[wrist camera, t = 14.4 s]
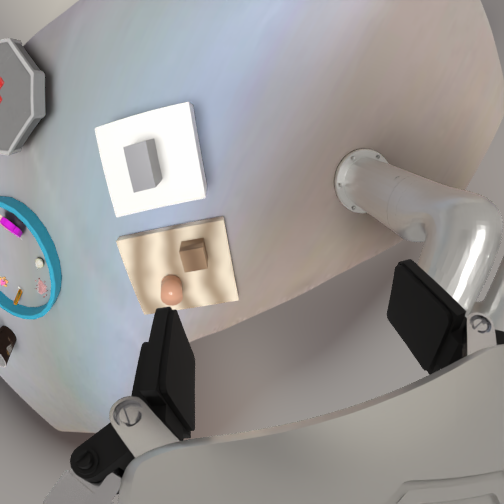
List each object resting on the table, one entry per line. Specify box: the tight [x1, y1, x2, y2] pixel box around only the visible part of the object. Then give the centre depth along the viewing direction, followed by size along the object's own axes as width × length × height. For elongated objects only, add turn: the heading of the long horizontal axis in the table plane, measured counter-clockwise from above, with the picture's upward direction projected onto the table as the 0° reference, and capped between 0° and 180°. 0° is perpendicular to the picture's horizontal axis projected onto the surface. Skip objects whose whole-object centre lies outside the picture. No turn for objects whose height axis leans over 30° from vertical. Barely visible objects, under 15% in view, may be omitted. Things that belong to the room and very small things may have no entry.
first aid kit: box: [0, 38, 46, 155], centre depth 27 cm, size 18×8×25 cm
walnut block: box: [179, 237, 208, 273], centre depth 47 cm, size 4×4×4 cm
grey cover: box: [95, 102, 207, 217], centre depth 37 cm, size 14×14×13 cm
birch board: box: [116, 216, 239, 315], centre depth 51 cm, size 20×17×2 cm
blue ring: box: [0, 196, 62, 319], centre depth 43 cm, size 30×30×6 cm
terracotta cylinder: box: [161, 275, 183, 306], centre depth 49 cm, size 4×4×4 cm
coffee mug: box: [0, 326, 16, 367], centre depth 50 cm, size 12×9×10 cm
